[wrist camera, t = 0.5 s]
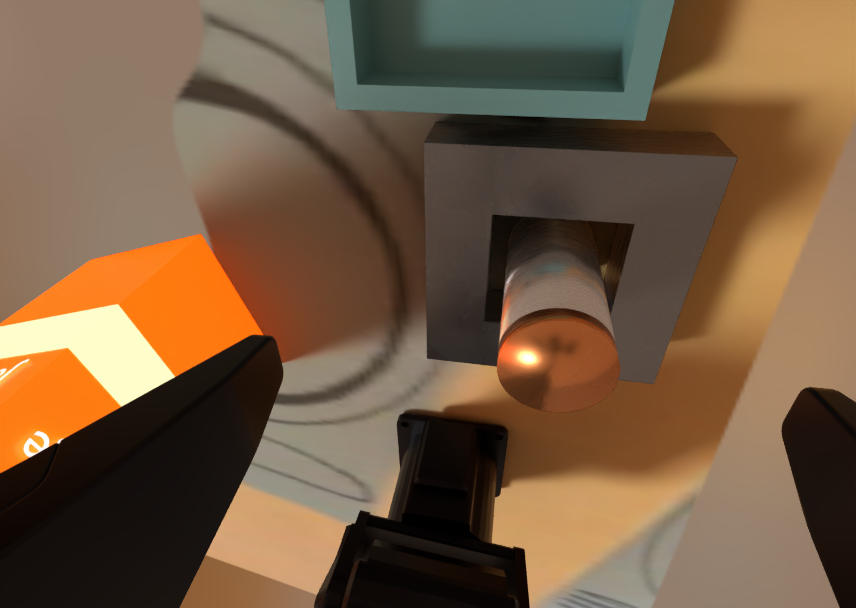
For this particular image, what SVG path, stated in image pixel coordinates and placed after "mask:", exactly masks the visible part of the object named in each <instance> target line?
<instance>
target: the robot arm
mask: <svg viewBox="0 0 856 608" xmlns="http://www.w3.org/2000/svg"><path fill="white" fill-rule="evenodd" d="M282 380H283V366H282V362H281V358H280V354H279V350H278V346H277V343H276V340H275V339H274V338H273V337H272V336H267V335H256V334H255V335H250V336H248V337H246V338H244V339H242V340H241V341H239V342H237V343H235V344H233V345H232V346H230V347H228V348H226V349H224V350H223V351H221V352H219V353H217V354H215V355H214V356H212V357H210V358H208V359H206V360H205V361H203V362H201V363H199V364H197V365H196V366H194V367H192V368H190V369H188V370H187V371H185V372H183V373H181V374H179V375H177V376H176V377H174V378H172V379H170V380H168V381H167V382H165V383H163V384H161V385H159V386H158V387H156V388H154V389H152V390H150V391H149V392H147V393H145V394H143V395H141V396H140V397H138V398H136V399H134V400H132V401H131V402H129V403H127V404H125V405H123V406H121V407H120V408H118V409H116V410H114V411H112V412H111V413H109V414H107V415H105V416H103V417H102V418H100V419H98V420H96V421H94V422H93V423H91V424H89V425H87V426H85V427H84V428H82V429H80V430H78V431H76V432H74V433H73V434H71V435H69V436H67V437H65V438H64V439H62V440H61V441H60V443H54V444H53V445H51V446H49V447H47V448H45V449H44V450H42V451H40V452H38V453H36V454H35V455H33V456H31V457H29V458H27V459H25V460H24V461H22V462H20V463H18V464H16V465H14V466H12V467H11V468H9V469H7V470H5V471H3V472H1V473H0V608H179V607H180V605H181V603H182V601H183V599H184V597H185V595H186V593H187V591H188V589H189V587H190V585H191V583H192V581H193V579H194V577H195V575H196V573H197V571H198V569H199V567H200V565H201V563H202V561H203V559H204V557H205V555H206V553H207V551H208V549H209V547H210V545H211V543H212V541H213V539H214V537H215V535H216V533H217V531H218V528H219V526H220V524H221V522H222V520H223V518H224V516H225V514H226V512H227V510H228V508H229V506H230V504H231V502H232V500H233V498H234V496H235V494H236V492H237V490H238V488H239V486H240V484H241V482H242V480H243V478H244V476H245V474H246V472H247V470H248V468H249V466H250V464H251V462H252V459H253V457H254V455H255V453H256V451H257V448H258V446H259V443H260V441H261V438H262V435H263V432H264V430H265V427H266V424H267V421H268V419H269V416H270V413H271V410H272V408H273V405H274V402H275V399H276V397H277V394H278V391H279V388H280V386H281V383H282ZM397 431H398V445H399V459H400V473H399V476H398V480H397V484H396V488H395V492H394V496H393V500H392V503H391V507H390V511H389V515H388V519H387V518H383V517H379V516H375V515H370V512H366V511H361V510H360V512H359V515H358V517H357V520H356V523H355V524H353V523H352V524H351V525H348V526H346V529H345V532H344V535H343V538H342V542H341V545H340V547H339V550H338V553H337V556H336V558H335V560H334V562H333V564H332V566H331V568H330V570H329V572H328V574H327V576H326V578H325V580H324V582H323V584H322V586H321V588H320V590H319V592H318V594H317V597H316V600H315V604H314V608H530V607H529V595H528V584H527V572H526V561H525V550H524V549H523V548H518V547H513V548H510V547H506V546H502V545H497V544H493V543H492V531H493V517H494V503H495V497H498V496H499V495H500V492H501V485H502V478H503V470H504V463H505V455H506V448H507V440H508V430H507V429H506V428H504V427H502V426H496V425H489V424H481V423H473V422H466V421H458V420H450V419H443V418H435V417H428V416H420V415H412V414H401V415H400V416H399V418H398V421H397ZM499 434H500V435H499ZM782 438H783V441H784V445H785V449H786V452H787V455H788V459H789V463H790V467H791V471H792V474H793V478H794V481H795V485H796V489H797V492H798V496H799V500H800V503H801V507H802V510H803V514H804V517H805V520H806V523H807V526H808V529H809V532H810V534H811V537H812V540H813V542H814V544H815V547H816V550H817V552H818V555H819V557H820V560H821V562H822V565H823V567H824V570H825V572H826V575H827V577H828V579H829V582H830V585H831V587H832V589H833V592H834V594H835V597H836V600H837V602H838V605H839V607H840V608H856V402H855V401H853V400H851V399H850V398H848V397H847V396H845V395H844V394H842V393H840V392H839V391H836V390H833V389H824V388H814V387H809V388H805V389H803V390H802V391H801V392H800V393H799V395H798V396H797V398H796V400H795V402H794V403H793V405H792V407H791V409H790V410H789V412H788V414H787V416H786V418H785V419H784V421H783V424H782Z"/></svg>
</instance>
